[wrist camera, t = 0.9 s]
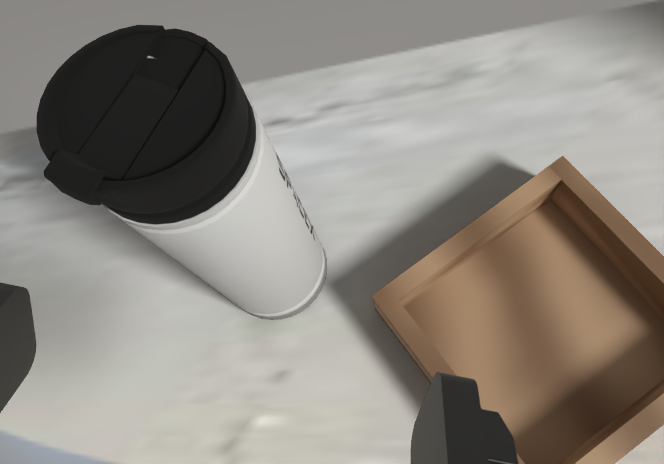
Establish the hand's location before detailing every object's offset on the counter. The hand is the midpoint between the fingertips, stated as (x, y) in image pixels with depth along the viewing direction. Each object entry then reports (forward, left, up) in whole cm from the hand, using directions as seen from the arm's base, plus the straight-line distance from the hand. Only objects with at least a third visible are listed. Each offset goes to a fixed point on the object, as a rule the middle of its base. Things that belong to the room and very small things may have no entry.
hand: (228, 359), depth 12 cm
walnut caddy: (-11, +3, -23) cm, 25 cm away
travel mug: (-1, -9, -23) cm, 25 cm away
